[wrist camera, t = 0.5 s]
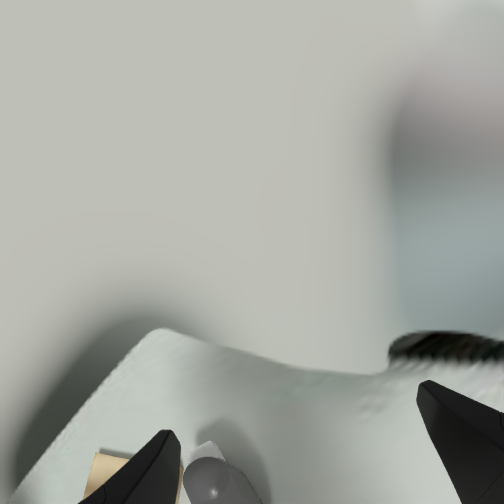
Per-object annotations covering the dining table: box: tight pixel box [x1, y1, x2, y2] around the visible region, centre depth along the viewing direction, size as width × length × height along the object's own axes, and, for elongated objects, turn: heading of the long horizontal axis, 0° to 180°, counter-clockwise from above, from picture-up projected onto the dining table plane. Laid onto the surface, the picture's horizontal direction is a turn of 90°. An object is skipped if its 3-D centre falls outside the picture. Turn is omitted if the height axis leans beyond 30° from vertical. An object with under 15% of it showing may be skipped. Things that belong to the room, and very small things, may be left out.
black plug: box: [183, 440, 263, 504], centre depth 16 cm, size 11×4×4 cm, turn 28°
